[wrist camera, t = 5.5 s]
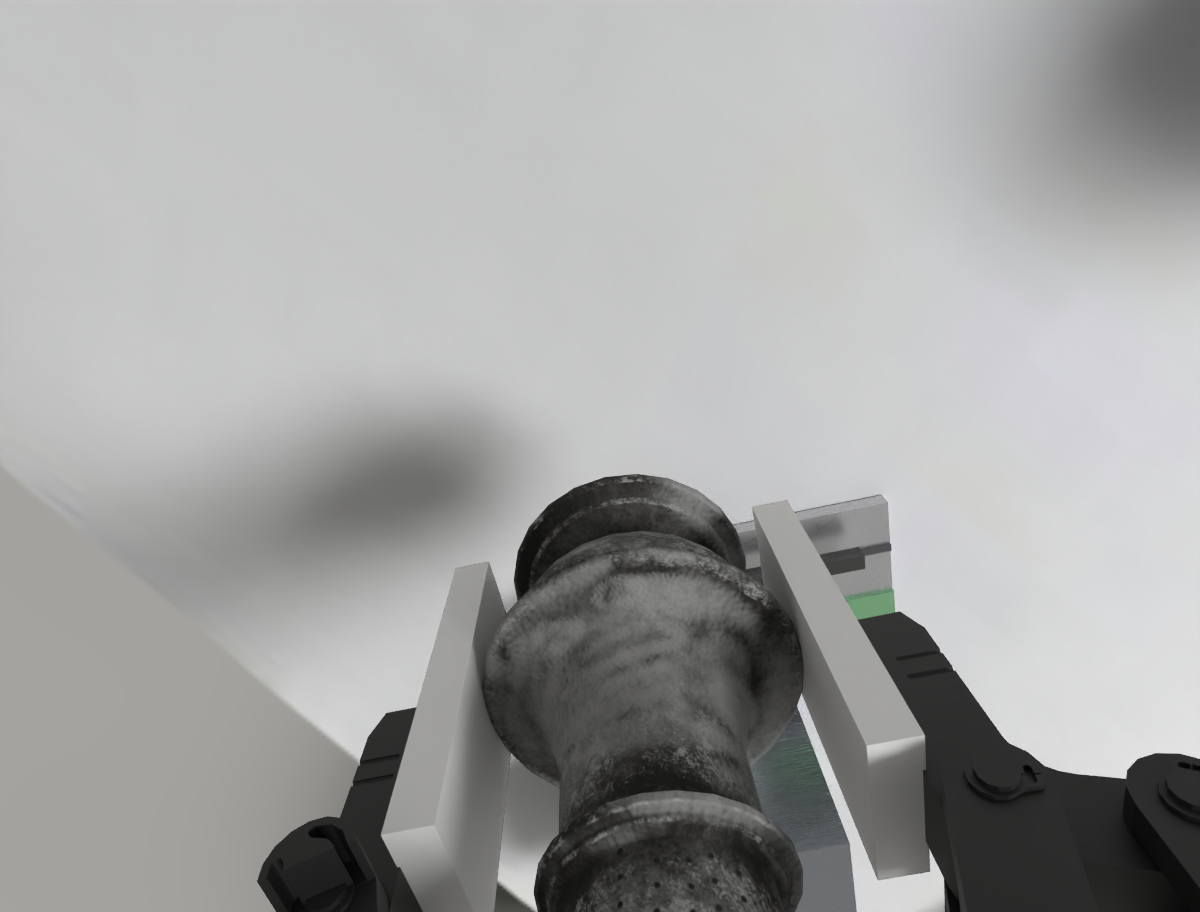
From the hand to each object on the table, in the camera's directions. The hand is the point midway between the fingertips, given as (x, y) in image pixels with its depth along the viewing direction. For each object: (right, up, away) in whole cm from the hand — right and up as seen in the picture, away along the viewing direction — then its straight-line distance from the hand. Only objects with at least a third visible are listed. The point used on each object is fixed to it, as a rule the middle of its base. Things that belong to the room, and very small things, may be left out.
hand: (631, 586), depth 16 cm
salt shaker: (0, 0, +1) cm, 1 cm away
